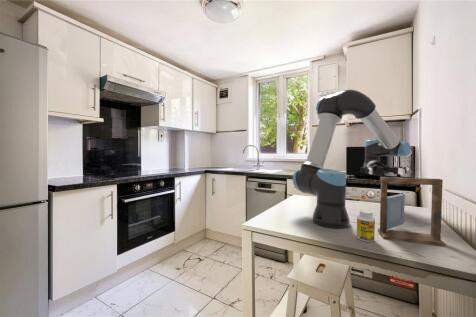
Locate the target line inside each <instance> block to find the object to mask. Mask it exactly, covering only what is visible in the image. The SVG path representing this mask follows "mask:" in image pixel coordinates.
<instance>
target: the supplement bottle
mask: <svg viewBox="0 0 476 317" xmlns="http://www.w3.org/2000/svg"><path fill="white" fill-rule="evenodd" d="M373 216H374V214H373V211H371V210H364V209H361V210H359V215H357V216H356V238H357V239H358V240H359V241H362V242H365V243H372V242H374V241H375V233H376V231H375V230H376V228H375V227H376V219H375V218H374V217H373Z"/></svg>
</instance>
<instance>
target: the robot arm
mask: <svg viewBox="0 0 476 317" xmlns="http://www.w3.org/2000/svg"><path fill="white" fill-rule="evenodd" d="M315 110H316V114H317V119H318V120H319V122H318V125H317V127H316V130H315V133H314V135H313V140H312V143H311V145H310V148H309V152H308V155H307V158H306V161H305V162H303V163H302V164H301V165H300V168H299V169H297V170H296V171H295V172H294V173H293V176H292V183H293V185H294V188H295V189H296V190H297V191H299V192H301V193H304V194H308V195H312V196H316V205H315V208H314V211H313V214H312V222H313V223H314V224H315V225H318V226H320V227H325V228H328V229H329V228H330V229H344V228H348V227H350V220H351V219H350V217H349V214H348V211H347V207H346V194H347V193H346V192H347V191H346V190H347V189H346V188H347V181H346V180H347V179H346V174H345V172H342V171H340V170H337V169H330V168H324V165H325V162H326V159H327V156H328V152H329V149H330V146H331V143H332V139H333V136H334V133H335V130H336V129H337V128H336V127H337V125H338V124H339V123H341V121H342V119H343V116H345V115H352V116H354V117H355V119H358V120H360V121H361V122H362V123H363V125H364V126H365V127H366V129H367V130H369V131H370V132H371V134H372V135H373V137H375V138H376V139H367V140H365V142H364V143H365V145H364V163H363V166H361V167H360V173H364V175H368V174H369V175H374V176H382V175H384V174H389V173H393V174H398V175H401V176H406V174H407V173H408V172H407V171H408V170H407V169H408V168H406V167H403V166H392V165H391V166H389V165H385V163H384V162H382V161H381V157H397V158H399V157H407V156H409V155H410V152H411V150H412V149H411V144H410V143H409V142H408V141H407V142H406V141H400V140H399V138H398V137H397V135H396V134H395V133H394V131H393V130H392V129H391V127H390V126H389V125H388V124H387V123H386V121H385V119H384V118H383V117H382V116H381V115H380V114H379V112H378V111H377V109H376V104H375V103H374V101H373V100H372V99H371V98H370V97H369V96H368V95H366V94H365V93H362V92H360V91H358V90H356V89H344V90H342V91H338V92H335V93H332V94H327V95H325V96H323V97H320V98H319V100H318V102H317V103H316V106H315Z"/></svg>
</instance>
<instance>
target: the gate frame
mask: <svg viewBox="0 0 476 317" xmlns="http://www.w3.org/2000/svg"><path fill="white" fill-rule="evenodd" d="M379 178H380V179H379V180H380V181H379V182H380V200H379V201H380V202H379V203H380V207H379V208H380V209H379V210H380V211H379V228H377V231H378V233H379V235H380V237H381V238H382V239H385V240H393V241H399V242H400V241H401V242H408V243H418V244H425V245H433V246H440V247H446V243H445V242H444V241H443V240H442V239H441V238H442V235H441V233H442V211H443V208H442V206H443V184H444V183H443V179H441V178H425V177H423V178H421V177H417V178H416V177H397V176H396V177H395V176H394V177H393V176H391V177H390V176H380V177H379ZM388 184H397V185H398V184H401V185H423V186H424V185H425V186H431V208H430V209H431V212H430V213H431V214H430V233H425V232H415V231H405V230H397V229H386V217H387V197H388Z"/></svg>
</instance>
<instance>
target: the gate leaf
mask: <svg viewBox="0 0 476 317" xmlns="http://www.w3.org/2000/svg"><path fill="white" fill-rule="evenodd" d="M405 197H406V196H405V194H403V193H400V194H399V193H398V194H394V195H390V196H387V217H386V229H389V230H391V229H393V228H395V227H399V226H401V225H404V224H405V207H406V206H405V205H406V204H405V199H406V198H405Z"/></svg>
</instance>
